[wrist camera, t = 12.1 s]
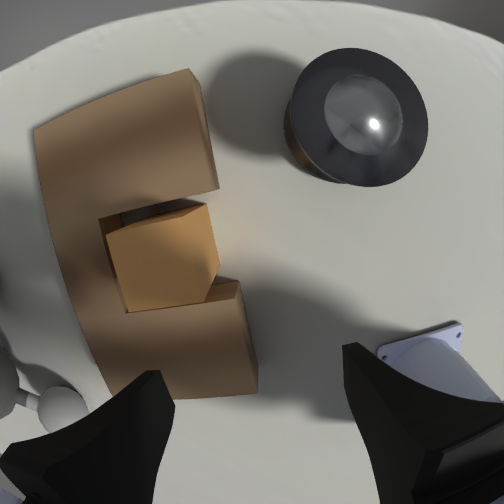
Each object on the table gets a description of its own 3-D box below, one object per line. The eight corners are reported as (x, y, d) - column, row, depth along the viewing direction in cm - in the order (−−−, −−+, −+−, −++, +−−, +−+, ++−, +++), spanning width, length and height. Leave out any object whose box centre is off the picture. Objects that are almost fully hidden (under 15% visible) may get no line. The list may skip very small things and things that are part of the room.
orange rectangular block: (220, 264, 20) (203, 301, 14) (163, 274, 20) (128, 312, 14) (206, 203, 19) (182, 216, 13) (148, 216, 19) (105, 234, 13)
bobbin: (398, 176, 18) (437, 178, 13) (295, 191, 18) (307, 197, 14) (377, 74, 16) (409, 49, 11) (273, 83, 17) (277, 53, 12)
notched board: (258, 367, 22) (257, 393, 19) (127, 377, 22) (114, 399, 20) (199, 83, 17) (189, 68, 14) (58, 133, 18) (33, 130, 15)
